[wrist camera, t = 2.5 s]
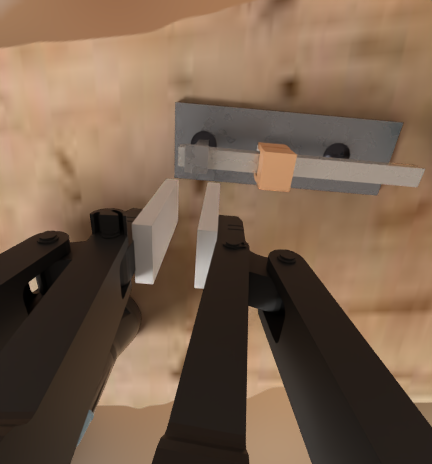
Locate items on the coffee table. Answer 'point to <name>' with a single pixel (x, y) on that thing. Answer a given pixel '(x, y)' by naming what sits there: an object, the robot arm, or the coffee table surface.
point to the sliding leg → (275, 167)
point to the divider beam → (298, 165)
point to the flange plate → (285, 140)
